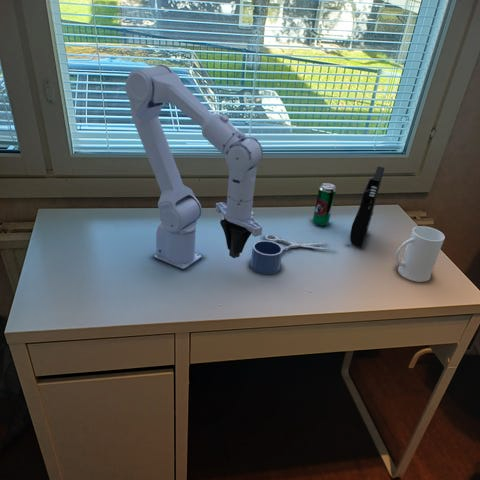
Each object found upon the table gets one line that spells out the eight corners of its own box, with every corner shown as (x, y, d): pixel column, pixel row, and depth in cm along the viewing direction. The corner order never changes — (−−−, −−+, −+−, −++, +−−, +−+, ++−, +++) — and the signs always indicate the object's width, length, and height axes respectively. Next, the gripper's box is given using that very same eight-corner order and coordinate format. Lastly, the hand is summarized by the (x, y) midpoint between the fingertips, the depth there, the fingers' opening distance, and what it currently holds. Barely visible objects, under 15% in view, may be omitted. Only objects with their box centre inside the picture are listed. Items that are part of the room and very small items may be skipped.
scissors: (259, 234, 135) (327, 236, 137) (259, 236, 135) (326, 238, 138) (264, 253, 126) (336, 254, 129) (264, 255, 127) (336, 257, 129)
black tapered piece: (362, 249, 135) (381, 181, 123) (346, 245, 136) (364, 178, 124) (368, 232, 144) (386, 167, 132) (353, 228, 145) (370, 164, 133)
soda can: (329, 227, 144) (338, 190, 137) (313, 226, 144) (320, 188, 137) (327, 220, 148) (335, 183, 141) (311, 218, 148) (318, 181, 141)
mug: (395, 282, 122) (409, 241, 115) (381, 265, 129) (394, 225, 121) (436, 281, 124) (452, 241, 117) (420, 264, 131) (435, 225, 124)
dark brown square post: (229, 255, 113) (231, 230, 109) (234, 253, 114) (237, 228, 110) (233, 258, 112) (236, 233, 108) (239, 256, 113) (242, 232, 109)
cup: (245, 267, 121) (247, 248, 118) (259, 255, 127) (262, 237, 123) (271, 277, 118) (274, 258, 115) (284, 265, 124) (287, 246, 120)
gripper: (275, 205, 102) (267, 260, 110) (234, 181, 110) (229, 234, 118) (250, 212, 98) (244, 268, 106) (209, 186, 106) (206, 240, 114)
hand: (234, 250), depth 112 cm, fingers closed on dark brown square post, 2 cm apart
